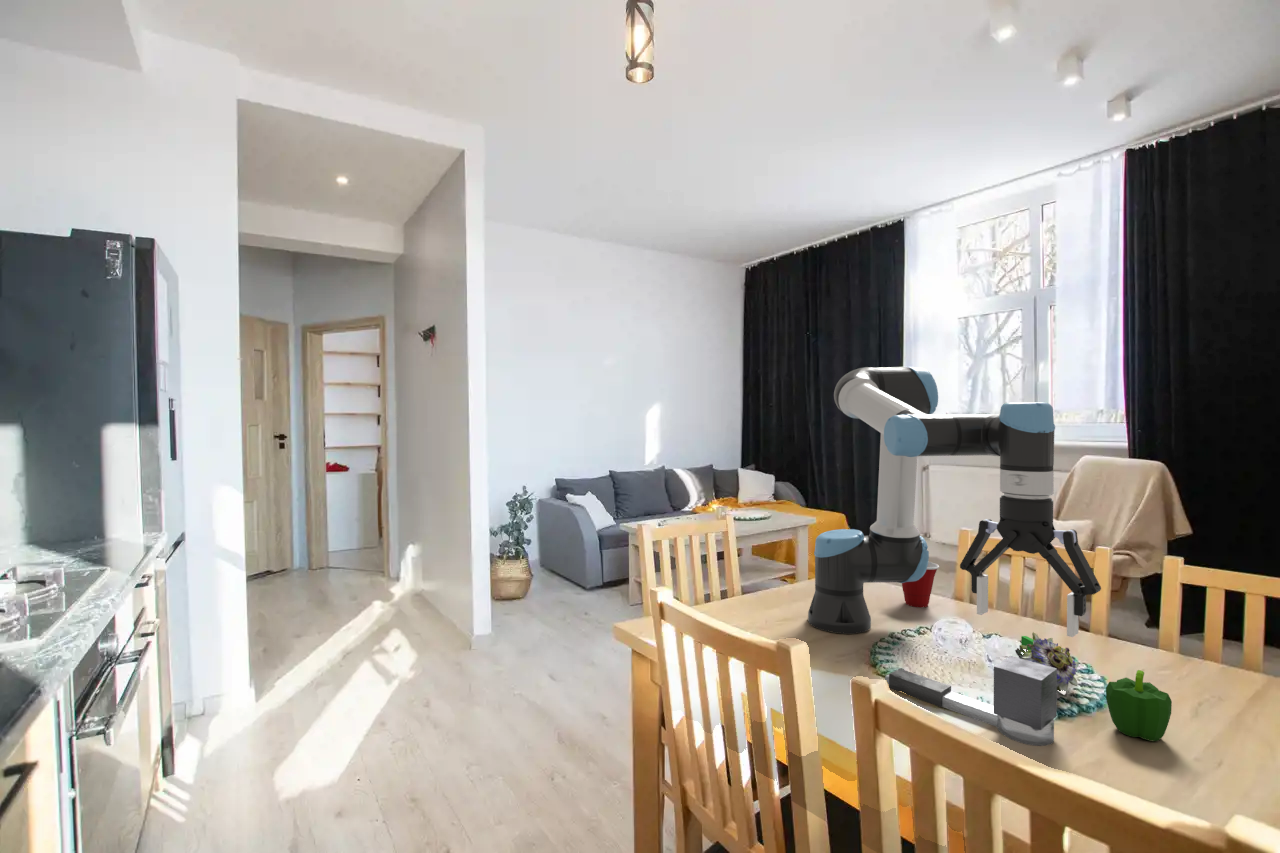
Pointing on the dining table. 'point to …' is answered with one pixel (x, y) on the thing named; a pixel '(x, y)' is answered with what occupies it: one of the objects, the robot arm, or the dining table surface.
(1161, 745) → the dining table surface
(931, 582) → the plastic cup
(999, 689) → the dark grey cube
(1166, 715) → the bell pepper
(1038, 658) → the passion flower
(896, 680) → the ratchet
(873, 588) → the dining table surface
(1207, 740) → the dining table surface
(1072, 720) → the dining table surface
